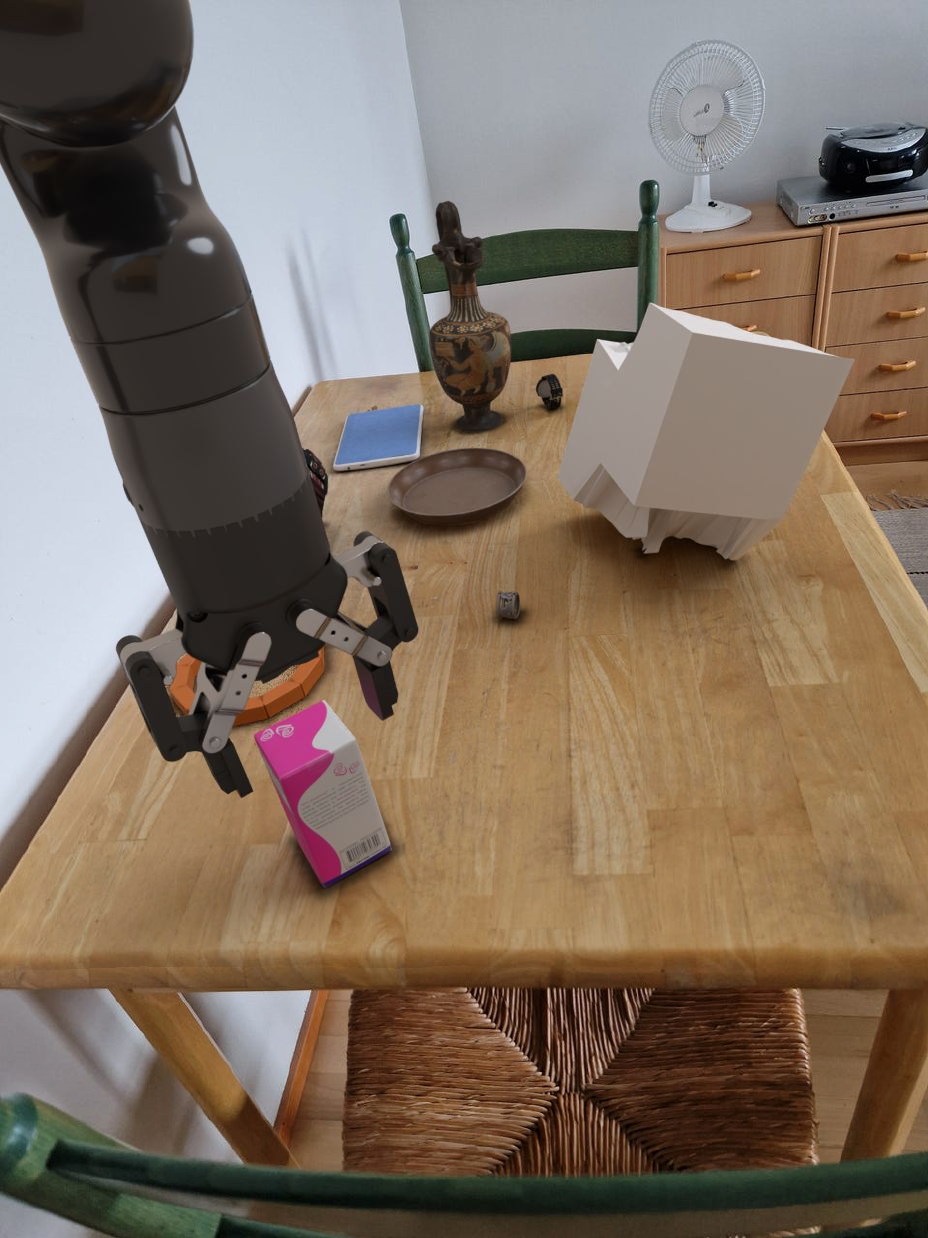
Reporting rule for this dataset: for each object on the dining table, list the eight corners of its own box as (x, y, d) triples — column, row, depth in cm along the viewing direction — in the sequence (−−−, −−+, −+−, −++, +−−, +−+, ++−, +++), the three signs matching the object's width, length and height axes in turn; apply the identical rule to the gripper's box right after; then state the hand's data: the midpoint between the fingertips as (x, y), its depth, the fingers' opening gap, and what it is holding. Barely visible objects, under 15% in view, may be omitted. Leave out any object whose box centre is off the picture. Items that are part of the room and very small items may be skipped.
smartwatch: (564, 400, 127) (562, 368, 125) (564, 413, 123) (561, 381, 120) (537, 403, 128) (534, 371, 125) (536, 416, 124) (533, 384, 121)
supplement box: (360, 803, 66) (326, 695, 60) (393, 851, 62) (360, 740, 55) (294, 839, 64) (250, 731, 58) (323, 891, 60) (280, 781, 53)
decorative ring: (503, 608, 85) (500, 583, 84) (521, 608, 85) (518, 584, 83) (497, 624, 83) (494, 600, 81) (516, 625, 83) (513, 600, 81)
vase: (451, 444, 120) (414, 220, 103) (435, 415, 130) (399, 206, 113) (529, 426, 121) (505, 202, 104) (507, 399, 131) (482, 190, 114)
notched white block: (547, 498, 97) (609, 274, 84) (670, 511, 101) (747, 299, 88) (603, 591, 81) (691, 332, 67) (747, 601, 85) (855, 359, 72)
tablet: (420, 462, 117) (418, 453, 116) (332, 474, 118) (330, 465, 117) (424, 410, 133) (423, 402, 132) (347, 421, 134) (346, 413, 133)
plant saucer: (539, 520, 99) (537, 497, 97) (393, 545, 99) (388, 523, 97) (518, 458, 113) (515, 438, 111) (390, 481, 113) (386, 460, 112)
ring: (216, 749, 74) (210, 736, 73) (154, 679, 84) (148, 667, 83) (352, 669, 81) (348, 656, 80) (280, 612, 91) (275, 600, 90)
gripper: (76, 580, 31) (215, 860, 40) (403, 447, 36) (458, 720, 45) (38, 514, 36) (169, 774, 45) (327, 407, 42) (391, 659, 51)
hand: (313, 747), depth 45 cm, fingers open, 8 cm apart
